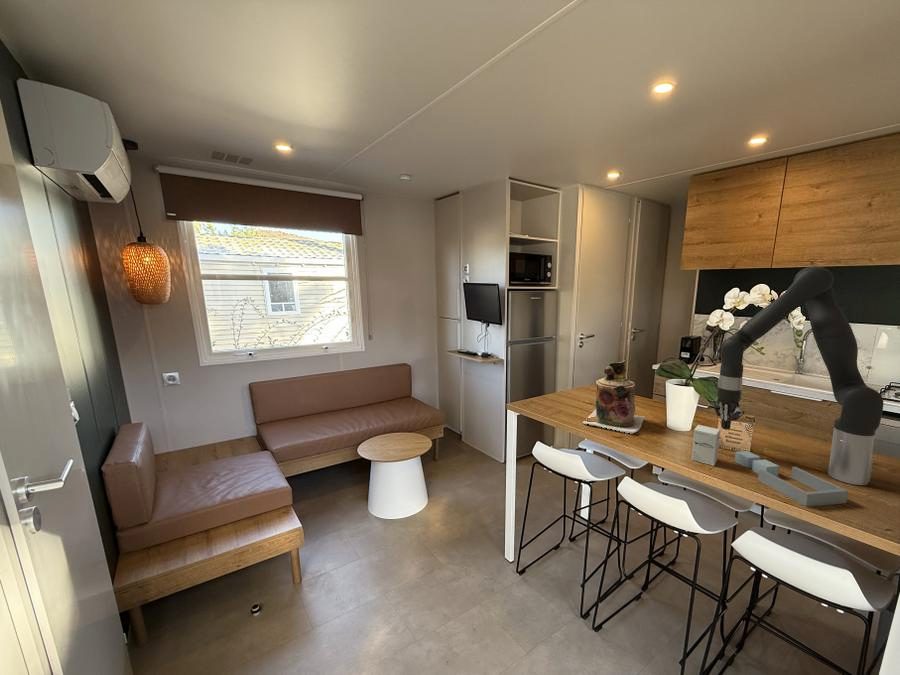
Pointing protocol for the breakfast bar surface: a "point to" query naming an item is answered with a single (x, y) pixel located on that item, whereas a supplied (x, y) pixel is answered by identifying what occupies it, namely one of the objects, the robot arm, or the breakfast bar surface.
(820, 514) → the breakfast bar surface
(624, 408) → the cookie jar
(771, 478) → the tray
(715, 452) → the supplement box
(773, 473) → the tile
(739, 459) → the tile
